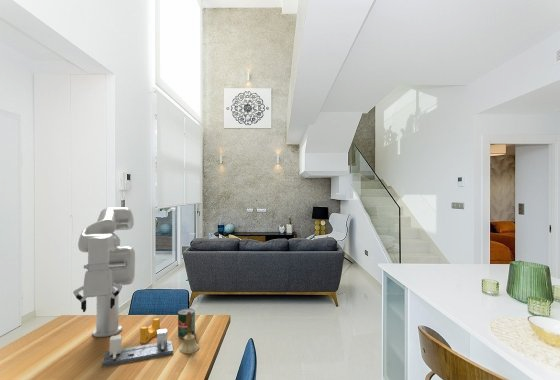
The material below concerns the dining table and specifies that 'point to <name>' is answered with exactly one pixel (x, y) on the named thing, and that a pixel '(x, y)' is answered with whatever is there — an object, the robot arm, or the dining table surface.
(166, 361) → the dining table surface
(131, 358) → the plate
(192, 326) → the canned tomato
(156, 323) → the pipe clamp
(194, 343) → the hand bell
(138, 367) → the dining table surface
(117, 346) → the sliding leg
